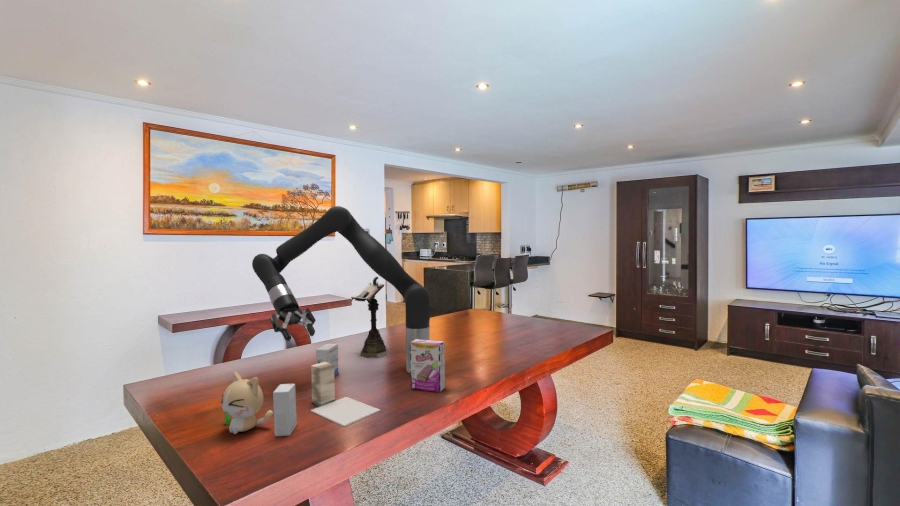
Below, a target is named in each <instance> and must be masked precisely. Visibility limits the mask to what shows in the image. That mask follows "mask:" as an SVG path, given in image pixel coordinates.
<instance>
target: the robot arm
mask: <svg viewBox="0 0 900 506" xmlns="http://www.w3.org/2000/svg"><path fill="white" fill-rule="evenodd" d="M336 232H338V233H339V235H341V236H342V237H343V238H345V239H346V240H347V241H348V242H349V243H350V244H351V245H352V246H353V248H354V249H355V251H356V253H357V254H358V255H359V256H360V258H361V259H362V260H363V261H364V262H365V264H366V265H367V266H368V267H369V268H370V269H371V270H372V271H373V272H375V273H376V274H377V275H378V277H380V278H382V279H383V280H385V281H386V282H387V283H389V284H390V285H392V286H393V287H394V288H395V289H396V291H398V293H399V294H400V295H401V297H402V298H403V299H404V301H405V305H404V307H405V357H406V358H405V363H406V365H405V367H406V372H407V373H409V374H411V370H410V342H411V341H413V340H415V339H421V340H431V339H430V335H431V334H430V333H431V332H430V322H431V321H430V319H431V309H430V308H431V305H430V304H431V303H430V302H431V299H430V297H431V296H430V294H429V291H428V289H427V288H426V287H425V286H424V285H422V284H420V283H419V282H418V281H417V280H416V279H414V278H413V277H412V276H411V275H409V273H407V271H406V270H405V269H404V268H403V266H402V265H401V264H400V263H399V261H398V260H397V259H396V258H395V257H394V256H393V254H392V253H391V252H390V251H389V250H388V249H387V248H386V247H385V246H384V245H383V244H382V243H380V242H379V240H377V239H376V238H374V237H373V236H372V235H371V234H369V233H368V232H367V231H366V230H365V229H364V228H363V227H362V226H361V225H360V223H359V222H358V221H357V220H356V219H355V217H354V216H353V215H352V214H351V212H350V211H349V209H347V208H345V207H344V206H343V207H342V206H341V205H336V206H331V207H330V208H329V209H328V210H326V212H325V213H324V214H322V215H321V216H320V217H319V218H318V219H317V220H316V221H314V223H312V224H311V225H309V226H308V227H307V228H305V229H304V230H302V231H300V232H299V233H297V234H295V235H293V236H292V237H291V238H289V239H288V240H286V241H284V242H283V243H281V244H280V245H279V246H277V247H276V249H275V253H276V256H274V257H272V256H270V255H268V254H267V253H258V254H257V255H255V256H254V257H253V259H252V262H251V263H252V265H251V267H252V270H253V271H254V272H253V273H255V275H256V276H257V278H258V279H259V280H260V281H261V283H262V284H263V286H264V287H265V290H266V292H267V294H268V296H269V300H270V302H271V304H272V306H273V309H274V311H275V312H276V313H274V312H273V313H272V314H271V316H270V318H269V320H270V323H271V326H272V329H273V330H274V333H278V332H280V333H281V334H282V336H283V338H284V340H286V342H290V341H291V340H292V335H291V333H290V331H289V329H288V328H287V327H288V326H292V325H299V326H304V327H306V331H307V332H308V334H309V337H314V335H315V333H316V330H315V327H314V326H313V325H314V324H315V322H316V321H317V320H316V319H315V316H314V315H313V313H312V311H311V310H310V309H309V308H306V309H305V310H301V309H300V305H299V303H298V301H297V299H296V296H295V295H294V293H293V292H292V289H291V288H290V287H289V285H288V284H287V281H286V279H285V278H284V276H283V275H282V274H281V273H282V271H284V269H285V268H286V267H287V266H288V265H289V264H291V263H290V262H292V261H294V260H295V259H297V258H298V257H300V256H301V255H303V254H304V253H305V252H307V251H308V250H309V249H310V248H312V247H313V246H314V245H316V244H317V243H318V242H319V241H320V240H323V239H324V238H326V237H328V236H329V235H332V234H334V233H336ZM279 320H280V321H281V322H282V325H281V324H280V322H279Z"/></svg>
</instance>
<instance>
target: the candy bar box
mask: <svg viewBox="0 0 900 506" xmlns="http://www.w3.org/2000/svg"><path fill="white" fill-rule="evenodd" d="M445 344H446V343H445V341H442V340H431V339H430V340H421V339H415V340H413V341H411V342H410V370H411V373H410V390H411V389H412V390H418V391H426V392H435V393H442V391H443V390H444V389H446V371H445V370H446V365H445V362H446V361H445V359H446V357H445V355H446V352H445V351H446V347H445V346H446V345H445Z"/></svg>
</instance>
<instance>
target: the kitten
mask: <svg viewBox="0 0 900 506" xmlns="http://www.w3.org/2000/svg"><path fill="white" fill-rule="evenodd" d="M232 377H233V379H232V383H230V384H229V386H227V387H226V389H225V391H224V392H223V394H222V395H221V400H220V403H221V407H222V411H223V412H224V420H225V425H226V426H228V425H229V426H228V429H229V433H231V434H234V435H237V434H238V433H240V432H246V431H249V430H252V429H253V428H254V427H255V426H258V425H263V424H264V423H266V422H268V421H269V420H270V419H272V418H273V417H274V410H271V409H270V410H268V411H267V410H266V411H267V412H266V413H265V415H264V417H262V418H259V419H257V417H256V414H257V413H258V412H259V410H260V409H261V408H262V406H263V403H264V393H263V390H262V388H261V386H260V385H259V379H258V377H257V376H255V377H252V378H251V379H247V378H245V379H243V377H242V376H241V374H239V373H238V372H237V371H234V372H233V375H232ZM231 417H232V419H231Z"/></svg>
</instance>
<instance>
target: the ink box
mask: <svg viewBox="0 0 900 506" xmlns="http://www.w3.org/2000/svg"><path fill="white" fill-rule="evenodd" d="M322 362H328V363H331V364H334V377H336V376H338V374H339V344H338V343H326V344H323V345H321V346H320V347H318V348H316V349H315V364H318V363H322Z"/></svg>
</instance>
